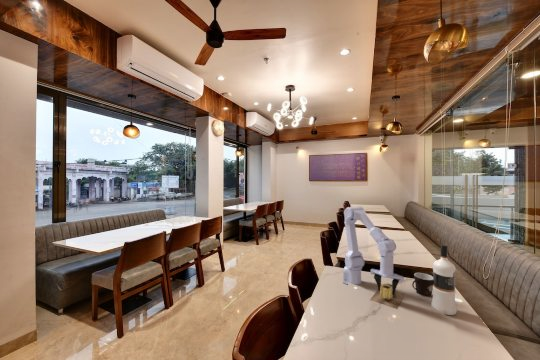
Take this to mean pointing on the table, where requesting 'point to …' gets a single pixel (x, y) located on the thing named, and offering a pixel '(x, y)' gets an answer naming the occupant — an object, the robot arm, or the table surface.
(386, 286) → the brass gear
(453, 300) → the vodka
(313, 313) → the table surface
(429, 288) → the coffee mug
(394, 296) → the steel gear
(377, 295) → the board
